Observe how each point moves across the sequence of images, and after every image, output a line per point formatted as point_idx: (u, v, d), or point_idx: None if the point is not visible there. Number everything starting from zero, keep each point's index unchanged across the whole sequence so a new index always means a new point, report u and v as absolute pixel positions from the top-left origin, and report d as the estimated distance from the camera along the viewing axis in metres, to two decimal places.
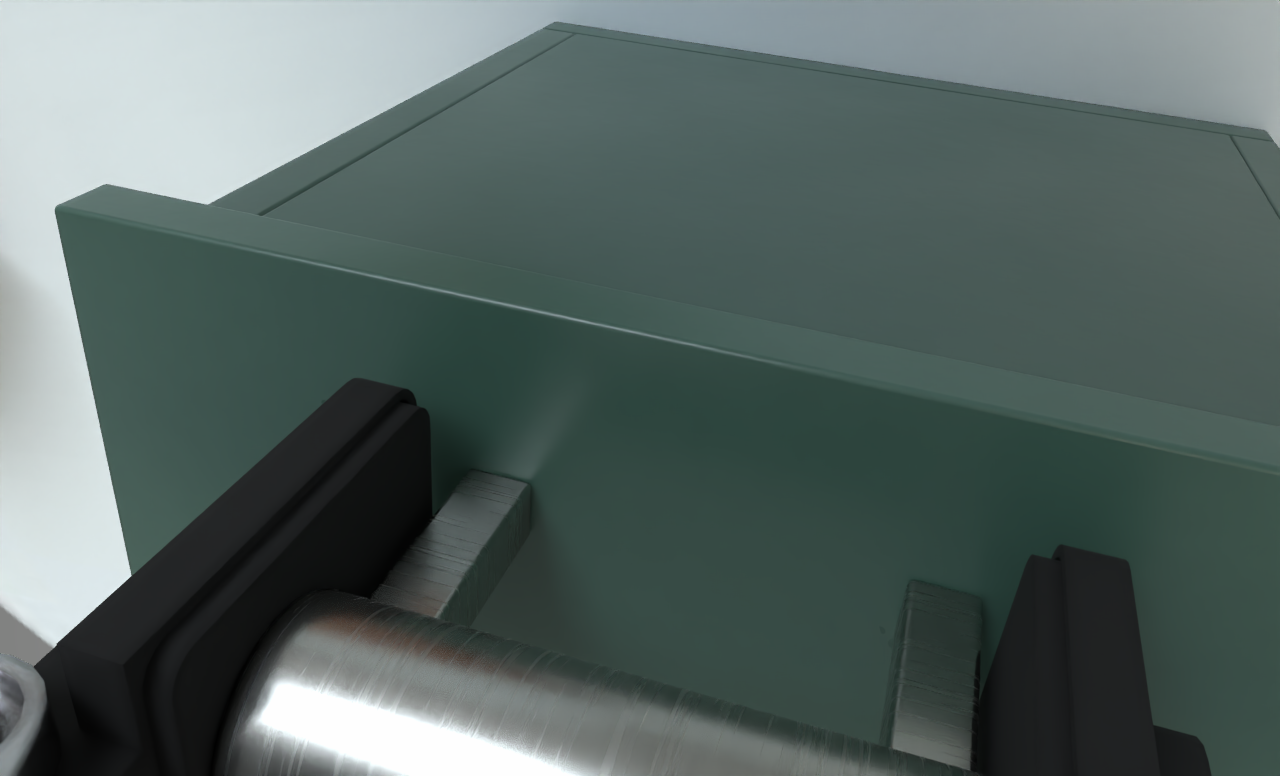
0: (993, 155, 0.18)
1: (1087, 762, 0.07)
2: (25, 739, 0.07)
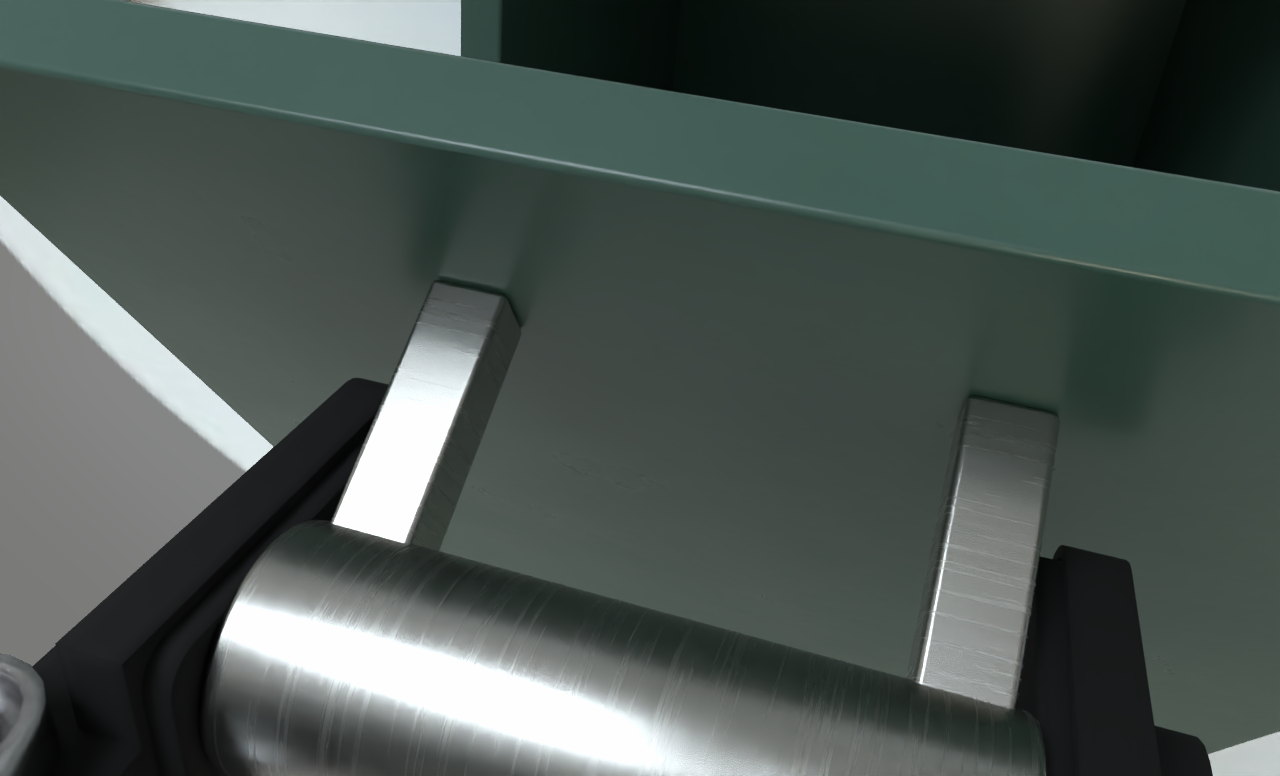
0: None
1: (1089, 763, 0.07)
2: (24, 738, 0.07)
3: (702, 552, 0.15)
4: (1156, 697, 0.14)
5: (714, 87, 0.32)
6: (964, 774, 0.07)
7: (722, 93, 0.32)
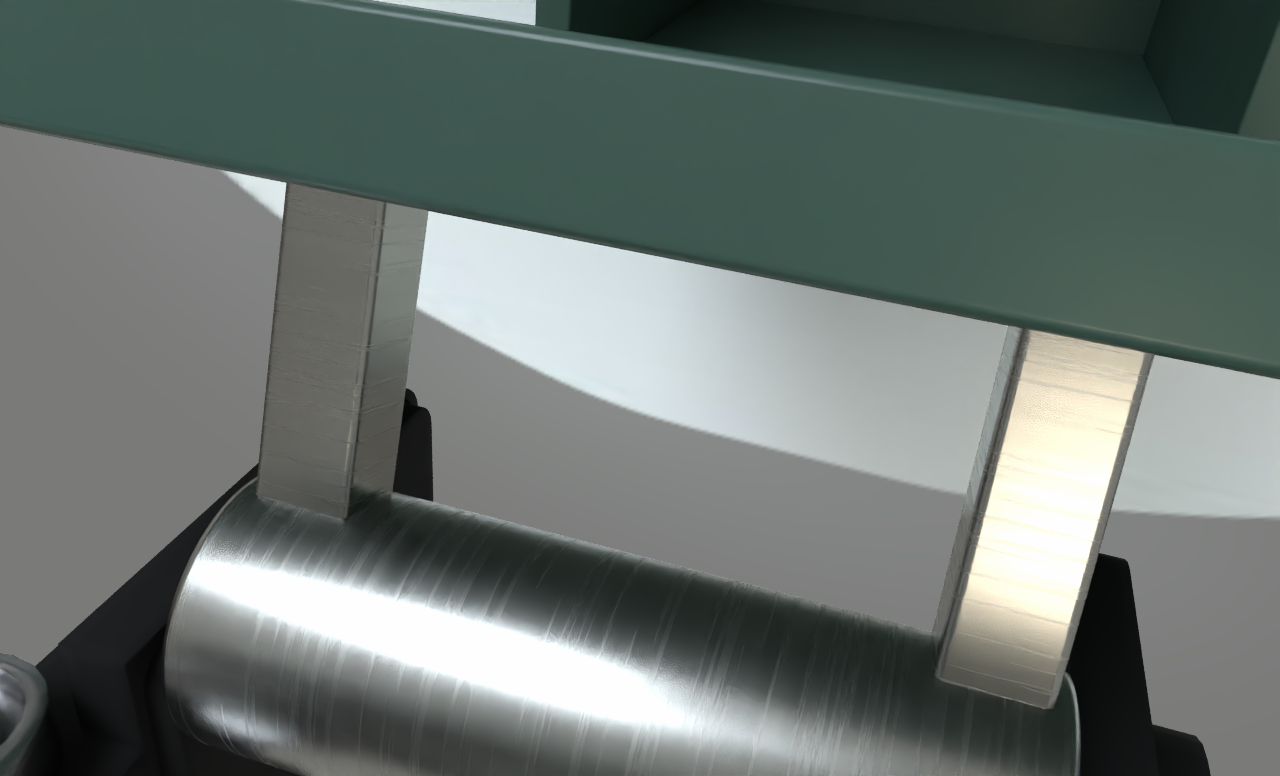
0: None
1: (1086, 762, 0.07)
2: (27, 738, 0.07)
3: None
4: None
5: None
6: None
7: None
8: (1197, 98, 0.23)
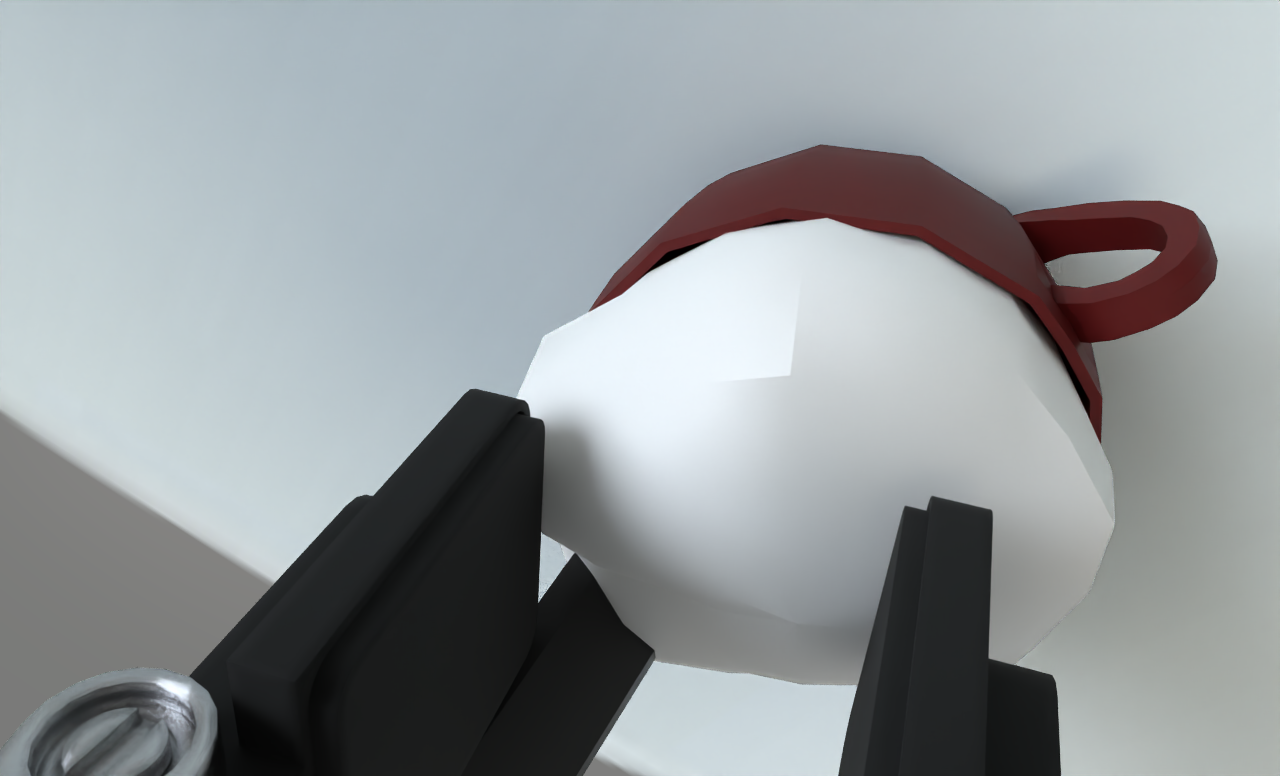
0: None
1: (919, 687, 0.07)
2: (203, 756, 0.07)
3: None
4: None
5: None
6: None
7: None
8: None
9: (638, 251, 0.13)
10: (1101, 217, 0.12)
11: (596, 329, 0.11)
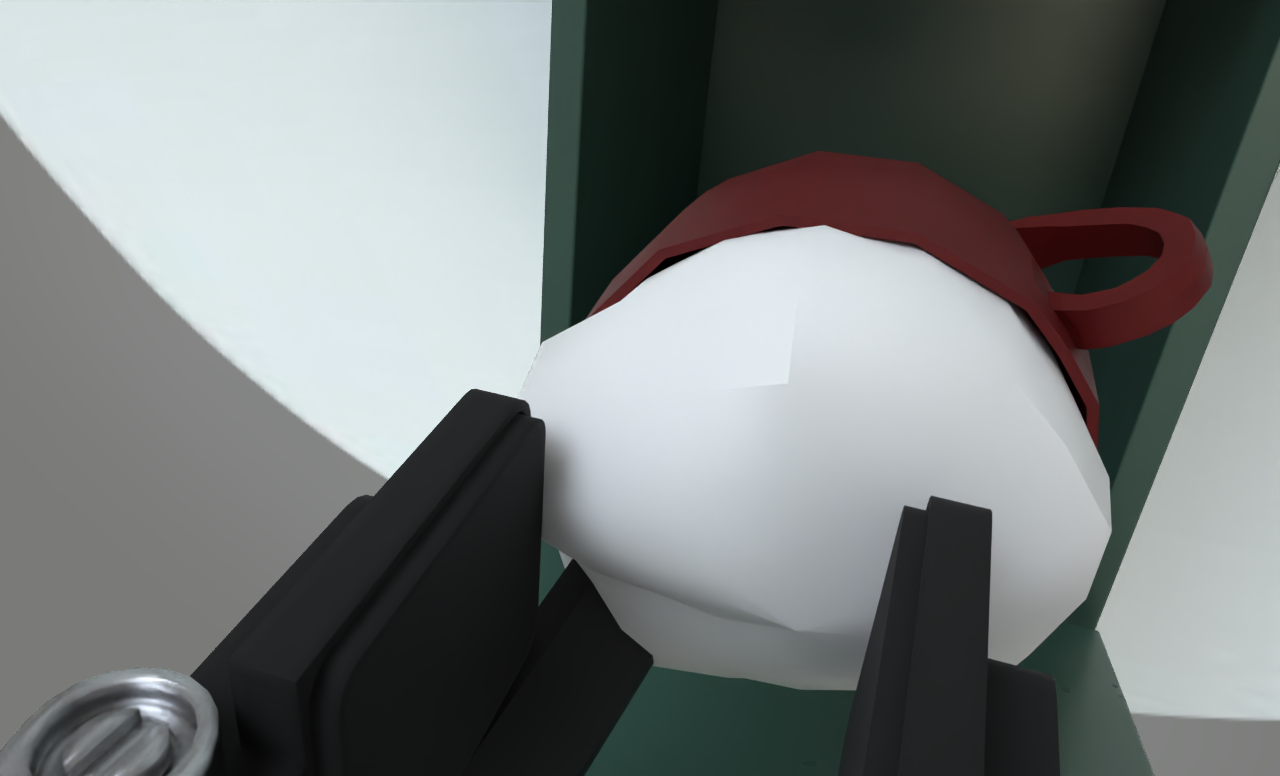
0: None
1: (918, 686, 0.07)
2: (204, 756, 0.07)
3: None
4: None
5: (748, 63, 0.35)
6: None
7: (756, 69, 0.35)
8: None
9: (636, 257, 0.13)
10: (1098, 223, 0.12)
11: (594, 336, 0.11)
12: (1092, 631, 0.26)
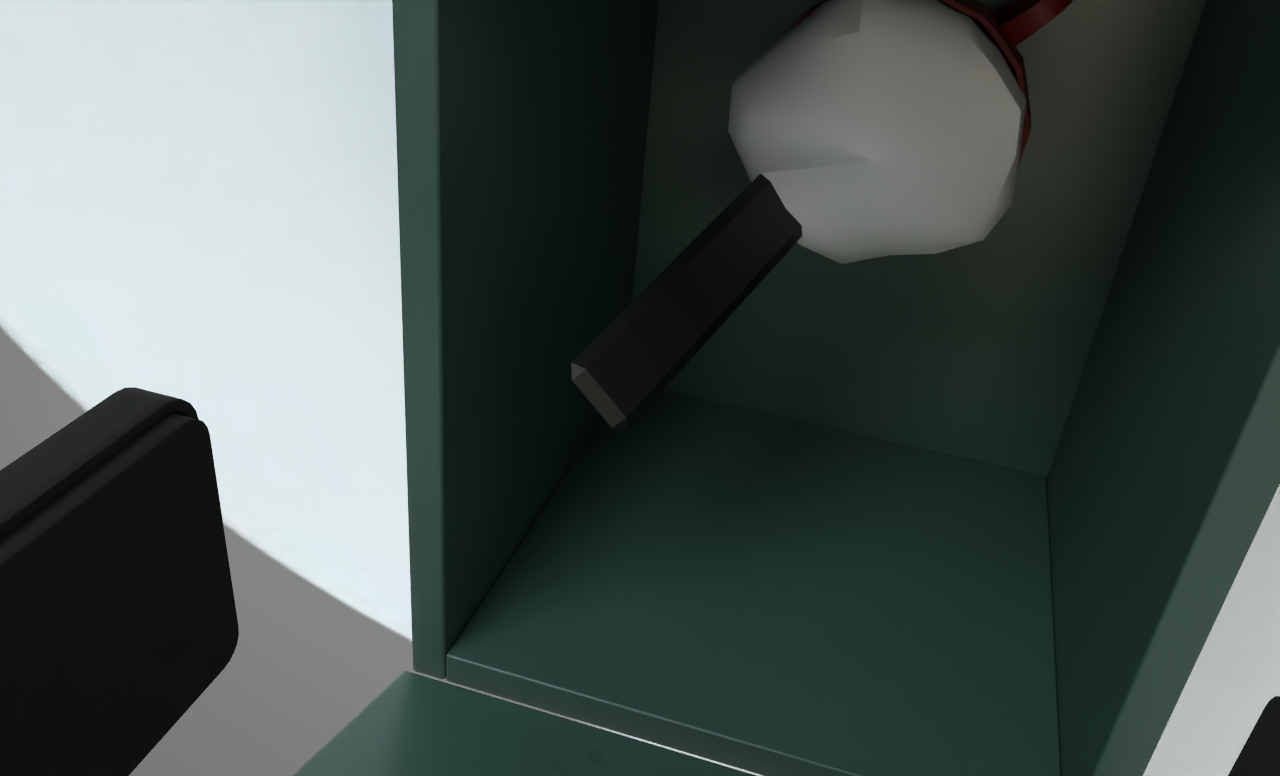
0: None
1: None
2: None
3: None
4: None
5: (690, 135, 0.30)
6: None
7: (699, 141, 0.30)
8: (1069, 656, 0.24)
9: None
10: None
11: (770, 50, 0.23)
12: None
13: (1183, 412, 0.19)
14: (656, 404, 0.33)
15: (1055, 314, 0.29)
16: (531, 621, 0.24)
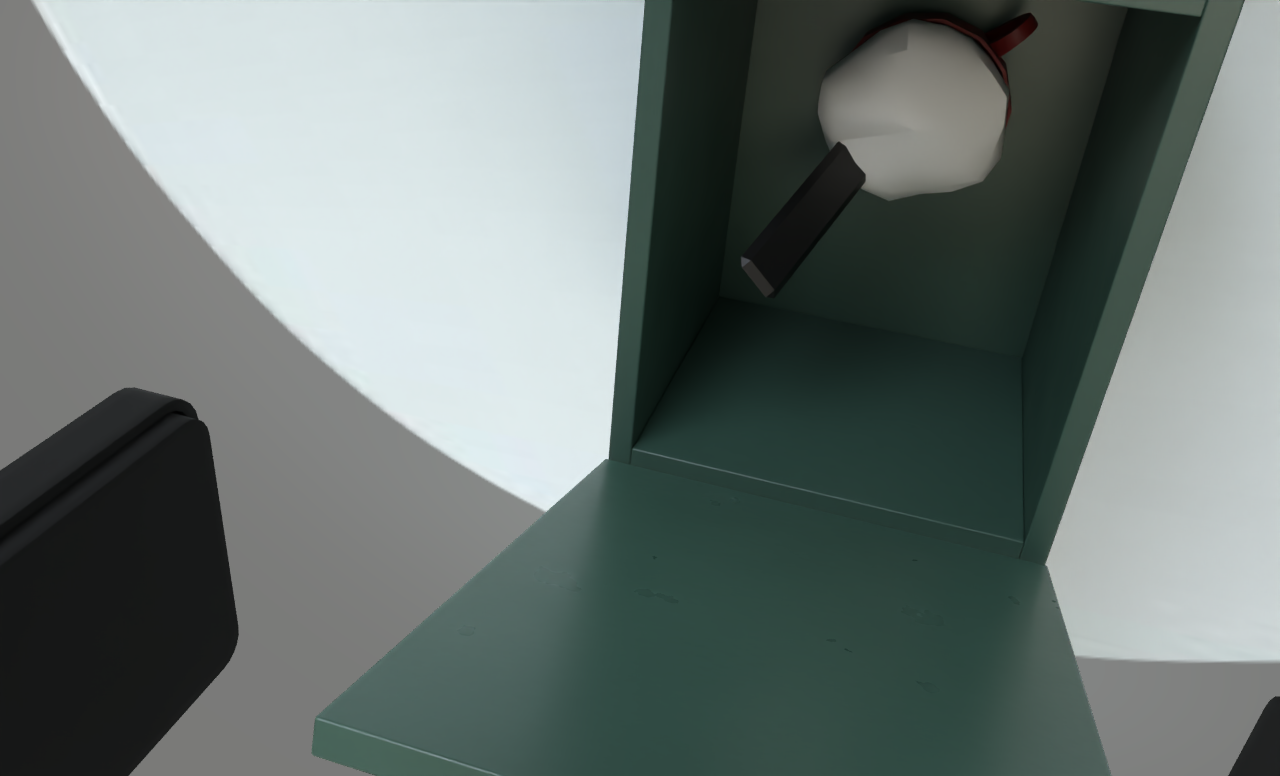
0: None
1: None
2: None
3: None
4: None
5: (773, 116, 0.43)
6: None
7: (779, 120, 0.43)
8: (1030, 449, 0.37)
9: None
10: (1007, 24, 0.37)
11: (845, 61, 0.37)
12: (1041, 565, 0.33)
13: (1093, 278, 0.32)
14: (743, 310, 0.46)
15: (1026, 239, 0.42)
16: (682, 432, 0.38)
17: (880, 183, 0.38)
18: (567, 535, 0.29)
